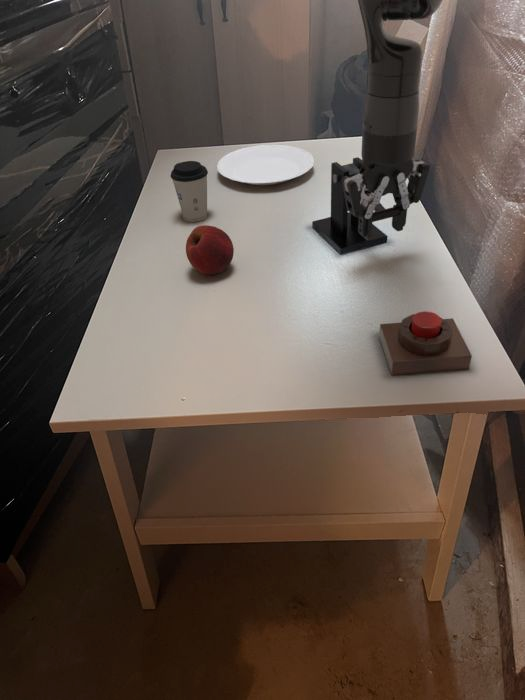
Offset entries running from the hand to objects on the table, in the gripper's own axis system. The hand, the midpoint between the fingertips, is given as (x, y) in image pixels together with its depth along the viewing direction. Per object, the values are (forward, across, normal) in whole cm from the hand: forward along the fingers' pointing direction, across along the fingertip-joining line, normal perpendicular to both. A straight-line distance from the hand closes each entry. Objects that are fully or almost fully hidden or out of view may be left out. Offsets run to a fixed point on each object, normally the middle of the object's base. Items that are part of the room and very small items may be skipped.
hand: (381, 232), depth 93 cm
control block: (+5, -7, -22) cm, 24 cm away
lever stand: (+5, 0, +11) cm, 12 cm away
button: (+2, -7, -22) cm, 23 cm away
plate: (+6, -2, +43) cm, 44 cm away
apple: (+6, -26, +10) cm, 28 cm away
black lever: (-3, 0, +6) cm, 7 cm away
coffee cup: (+6, -22, +31) cm, 39 cm away
